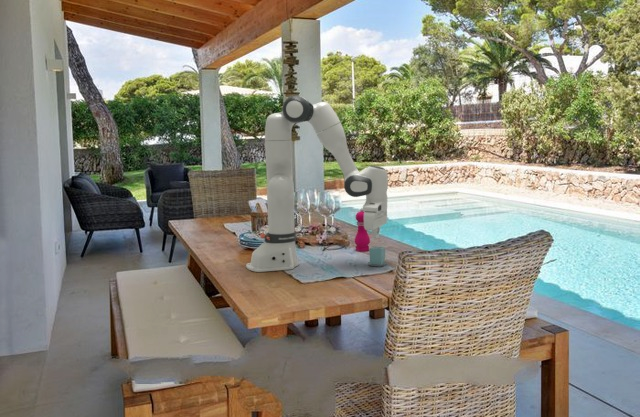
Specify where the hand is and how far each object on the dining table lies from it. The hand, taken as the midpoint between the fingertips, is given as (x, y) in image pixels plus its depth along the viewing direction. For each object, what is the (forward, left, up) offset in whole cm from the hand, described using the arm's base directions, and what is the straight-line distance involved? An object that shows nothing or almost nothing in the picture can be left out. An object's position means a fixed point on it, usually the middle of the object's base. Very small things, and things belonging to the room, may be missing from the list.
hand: (375, 237), depth 248 cm
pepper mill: (+10, +28, -12) cm, 32 cm away
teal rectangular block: (+1, 0, -11) cm, 11 cm away
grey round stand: (+1, 0, -12) cm, 12 cm away
